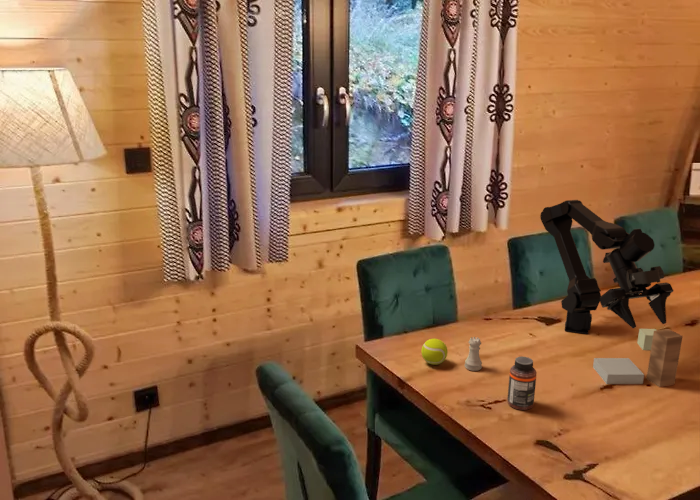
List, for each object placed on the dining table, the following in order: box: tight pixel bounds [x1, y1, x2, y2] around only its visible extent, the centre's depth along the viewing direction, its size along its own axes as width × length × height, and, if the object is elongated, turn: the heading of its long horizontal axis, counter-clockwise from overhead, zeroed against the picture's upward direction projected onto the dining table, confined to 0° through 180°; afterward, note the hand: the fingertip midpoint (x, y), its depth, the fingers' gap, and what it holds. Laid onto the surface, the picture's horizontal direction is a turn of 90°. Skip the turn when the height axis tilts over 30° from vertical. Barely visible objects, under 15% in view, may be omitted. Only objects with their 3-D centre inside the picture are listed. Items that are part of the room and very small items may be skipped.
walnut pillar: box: [646, 328, 684, 388], centre depth 167 cm, size 4×4×13 cm
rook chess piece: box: [464, 336, 483, 372], centre depth 173 cm, size 4×4×8 cm
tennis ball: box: [421, 338, 448, 366], centre depth 176 cm, size 7×7×7 cm
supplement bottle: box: [507, 355, 537, 411], centre depth 155 cm, size 6×6×11 cm
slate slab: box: [592, 357, 645, 385], centre depth 171 cm, size 9×9×3 cm
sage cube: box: [636, 328, 657, 351], centre depth 187 cm, size 4×4×4 cm
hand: (649, 325), depth 170 cm, fingers open, 9 cm apart
